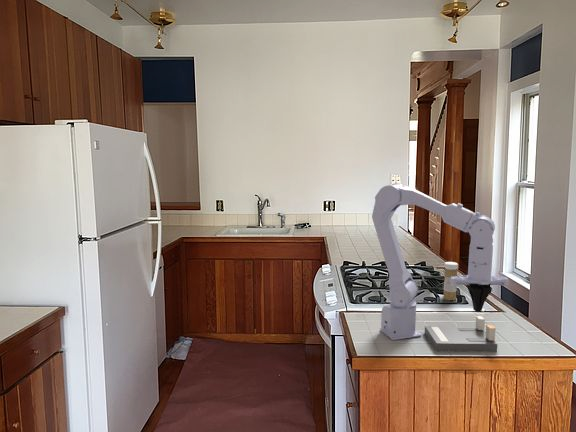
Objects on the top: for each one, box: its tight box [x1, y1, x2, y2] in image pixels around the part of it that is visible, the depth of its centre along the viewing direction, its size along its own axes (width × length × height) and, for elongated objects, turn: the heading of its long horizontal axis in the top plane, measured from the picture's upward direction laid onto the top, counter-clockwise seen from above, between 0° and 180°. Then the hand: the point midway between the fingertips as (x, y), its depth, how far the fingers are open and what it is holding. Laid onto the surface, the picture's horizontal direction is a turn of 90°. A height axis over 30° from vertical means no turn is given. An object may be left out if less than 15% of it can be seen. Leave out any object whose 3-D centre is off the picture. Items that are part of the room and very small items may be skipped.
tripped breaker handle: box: [485, 324, 496, 341], centre depth 120 cm, size 2×2×3 cm, turn 178°
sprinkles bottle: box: [442, 261, 459, 301], centre depth 160 cm, size 5×5×13 cm
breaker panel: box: [424, 325, 498, 353], centre depth 125 cm, size 16×12×2 cm
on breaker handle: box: [475, 315, 486, 331], centre depth 127 cm, size 2×2×3 cm, turn 178°
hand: (477, 310), depth 120 cm, fingers closed
